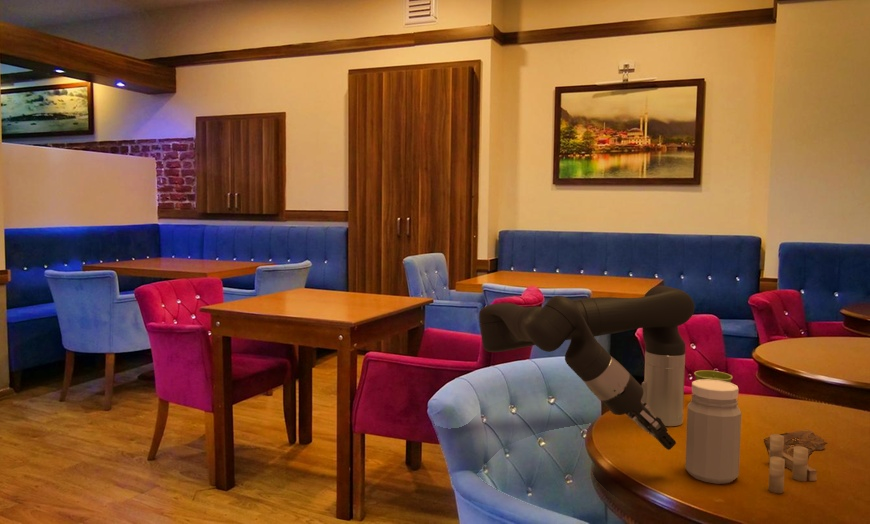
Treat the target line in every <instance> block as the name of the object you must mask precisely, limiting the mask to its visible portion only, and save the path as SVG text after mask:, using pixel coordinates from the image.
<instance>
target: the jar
mask: <svg viewBox="0 0 870 524" xmlns="http://www.w3.org/2000/svg"><path fill="white" fill-rule="evenodd" d="M738 398H739V387H738V385H736V384H734V383H733V382H731V381H730V382H725V381H720V380H710V379H703V380H696V379H695V380H693V381H692V382H691V400H690V402H688V404H687V411H686V412H687V414H686V417H687V418H686V440H685V470H686V471H687V473H688V474H689V475H690V476H692V477H693V479H697V480H699V481H702V482H703V483H710V484H711V483H712V484H716V485H717V484H718V485H720V484H729V483H731V482H734V481H735V480H736V479H737V478H738V477H739V476H740V455H741V435H742V433H741V432H742V431H741V430H742V426H741V425H742V412H741V409H740V407H739V406H738V405H739V402H738V400H737V399H738ZM733 480H734V481H733Z"/></svg>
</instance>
